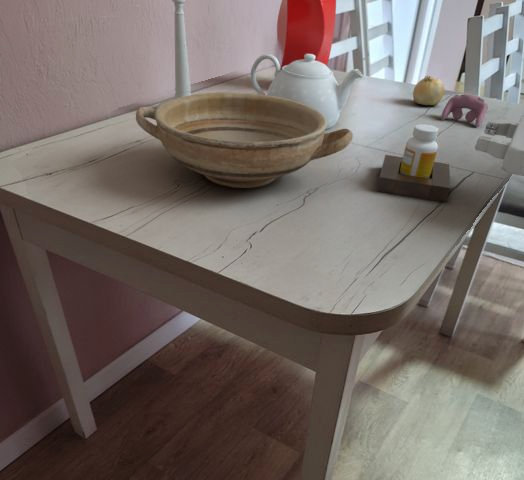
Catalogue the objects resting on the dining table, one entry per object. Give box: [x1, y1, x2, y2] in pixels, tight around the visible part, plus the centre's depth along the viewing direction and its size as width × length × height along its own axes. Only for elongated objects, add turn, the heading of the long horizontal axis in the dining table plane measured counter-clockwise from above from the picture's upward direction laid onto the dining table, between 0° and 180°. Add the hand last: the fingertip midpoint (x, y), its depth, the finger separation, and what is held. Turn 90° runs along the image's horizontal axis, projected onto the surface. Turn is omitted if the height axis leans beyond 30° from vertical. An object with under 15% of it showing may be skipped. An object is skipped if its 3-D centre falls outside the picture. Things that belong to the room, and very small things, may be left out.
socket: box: [376, 154, 451, 203], centre depth 87 cm, size 12×12×2 cm
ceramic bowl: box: [135, 91, 354, 189], centre depth 84 cm, size 37×29×10 cm
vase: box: [276, 0, 337, 70], centre depth 127 cm, size 15×14×28 cm
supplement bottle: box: [399, 123, 439, 178], centre depth 85 cm, size 5×5×10 cm
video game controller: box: [440, 93, 489, 128], centre depth 119 cm, size 10×5×7 cm, turn 58°
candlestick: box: [155, 0, 192, 110], centre depth 105 cm, size 13×13×30 cm
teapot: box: [250, 53, 364, 130], centre depth 109 cm, size 19×18×14 cm
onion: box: [412, 74, 446, 106], centre depth 128 cm, size 8×8×7 cm
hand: (481, 134), depth 79 cm, fingers open, 8 cm apart
